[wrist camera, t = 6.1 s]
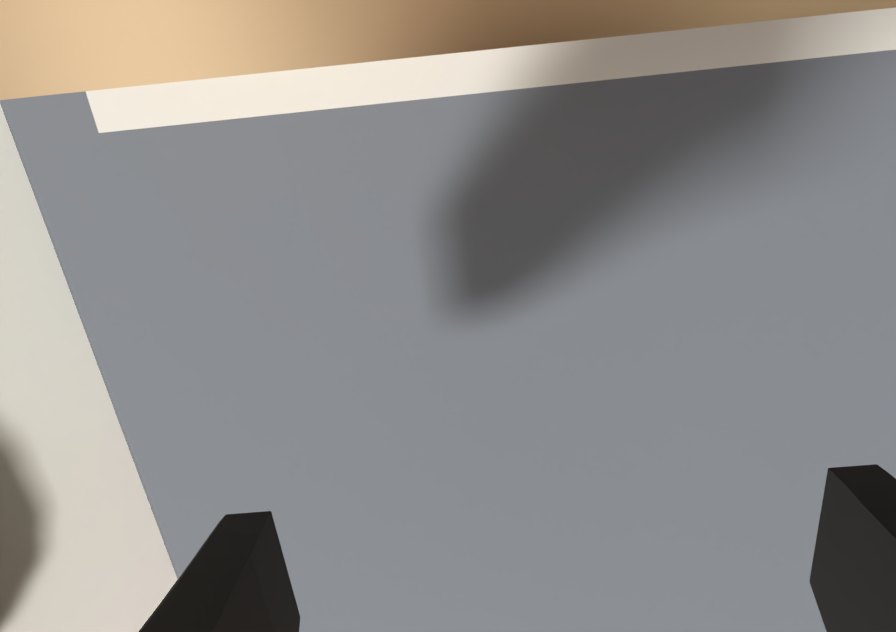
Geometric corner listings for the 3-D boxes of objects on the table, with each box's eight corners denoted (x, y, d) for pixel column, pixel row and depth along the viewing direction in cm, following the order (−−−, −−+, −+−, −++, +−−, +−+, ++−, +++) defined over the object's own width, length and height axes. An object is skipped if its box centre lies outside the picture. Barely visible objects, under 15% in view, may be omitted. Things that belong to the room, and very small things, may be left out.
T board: (1263, -1311, 7) (1320, -1389, 6) (859, 623, 18) (869, 642, 18) (-392, -1030, 7) (-442, -1083, 7) (224, 671, 19) (219, 691, 18)
